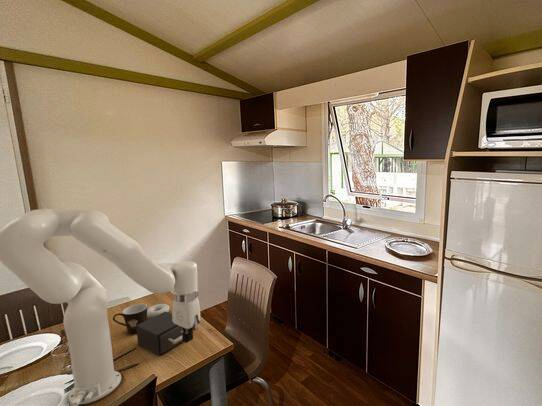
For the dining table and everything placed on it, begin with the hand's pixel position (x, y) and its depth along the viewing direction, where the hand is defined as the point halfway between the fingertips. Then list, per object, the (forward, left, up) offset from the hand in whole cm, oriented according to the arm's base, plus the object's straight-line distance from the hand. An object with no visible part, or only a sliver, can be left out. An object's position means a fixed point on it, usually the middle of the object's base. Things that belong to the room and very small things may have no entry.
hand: (187, 340), depth 103 cm
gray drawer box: (+12, +11, -6) cm, 18 cm away
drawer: (+9, +8, -5) cm, 14 cm away
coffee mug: (+25, +25, -6) cm, 36 cm away
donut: (+36, +19, -6) cm, 41 cm away
